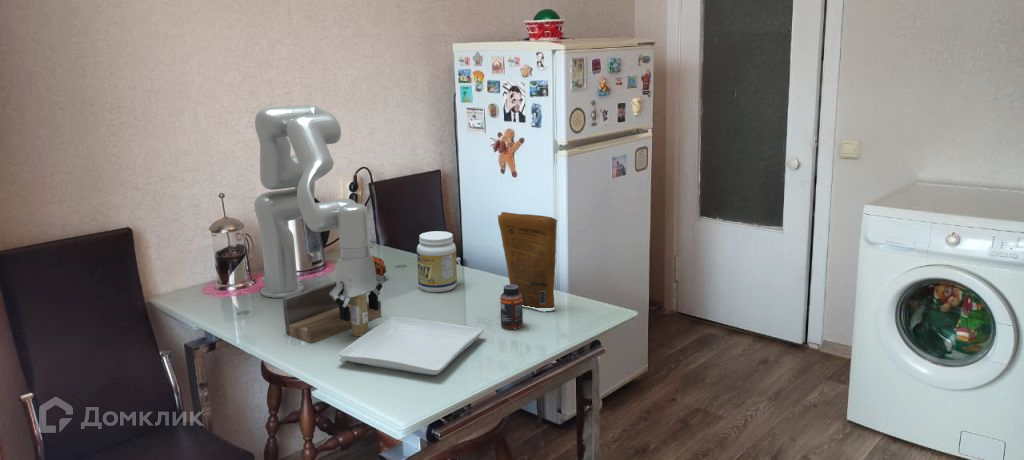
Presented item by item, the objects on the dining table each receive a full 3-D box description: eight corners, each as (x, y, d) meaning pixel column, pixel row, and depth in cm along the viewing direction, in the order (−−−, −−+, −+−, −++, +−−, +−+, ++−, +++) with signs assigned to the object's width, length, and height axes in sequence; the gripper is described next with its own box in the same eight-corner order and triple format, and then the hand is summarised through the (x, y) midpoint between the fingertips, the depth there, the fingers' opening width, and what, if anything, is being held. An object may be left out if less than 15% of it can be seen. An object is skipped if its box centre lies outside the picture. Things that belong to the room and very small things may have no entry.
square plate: (440, 385, 165) (439, 369, 164) (336, 368, 174) (334, 353, 173) (485, 340, 190) (485, 326, 189) (392, 327, 199) (391, 314, 198)
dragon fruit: (380, 289, 233) (363, 285, 243) (397, 269, 237) (380, 266, 246) (363, 271, 229) (346, 268, 239) (381, 251, 233) (363, 249, 242)
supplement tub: (410, 286, 231) (408, 234, 226) (441, 278, 238) (439, 228, 234) (433, 296, 222) (431, 242, 218) (465, 287, 230) (463, 234, 225)
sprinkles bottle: (372, 334, 193) (368, 286, 190) (355, 338, 191) (352, 289, 187) (365, 329, 197) (362, 281, 193) (349, 332, 194) (345, 284, 191)
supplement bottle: (525, 323, 199) (525, 284, 197) (518, 331, 194) (518, 291, 191) (505, 321, 201) (504, 282, 198) (497, 328, 196) (496, 288, 193)
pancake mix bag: (549, 317, 204) (550, 219, 197) (497, 303, 215) (495, 210, 208) (563, 310, 209) (564, 215, 202) (511, 296, 220) (510, 206, 213)
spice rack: (286, 333, 194) (282, 298, 192) (356, 308, 212) (354, 275, 210) (310, 343, 188) (307, 306, 185) (381, 316, 206) (379, 282, 203)
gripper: (371, 242, 197) (375, 302, 201) (318, 257, 184) (324, 321, 188) (390, 246, 192) (394, 308, 196) (337, 262, 179) (342, 327, 183)
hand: (359, 314), depth 192 cm, fingers open, 9 cm apart
